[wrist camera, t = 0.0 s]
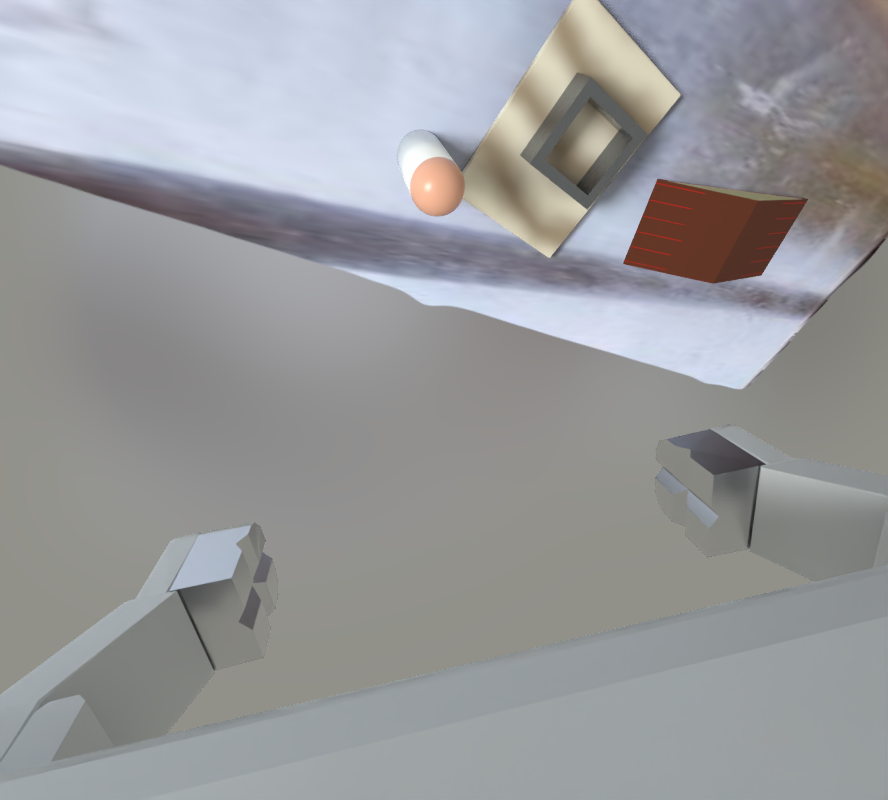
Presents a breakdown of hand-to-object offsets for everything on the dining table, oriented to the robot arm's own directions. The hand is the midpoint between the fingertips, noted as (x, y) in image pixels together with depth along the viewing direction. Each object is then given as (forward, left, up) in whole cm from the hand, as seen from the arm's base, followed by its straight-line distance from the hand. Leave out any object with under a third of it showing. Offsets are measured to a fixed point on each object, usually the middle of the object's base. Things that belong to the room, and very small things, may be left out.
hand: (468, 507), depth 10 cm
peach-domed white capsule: (+1, +9, -52) cm, 53 cm away
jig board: (-9, +22, -52) cm, 57 cm away
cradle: (-10, +23, -51) cm, 57 cm away
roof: (-13, +49, -53) cm, 73 cm away
